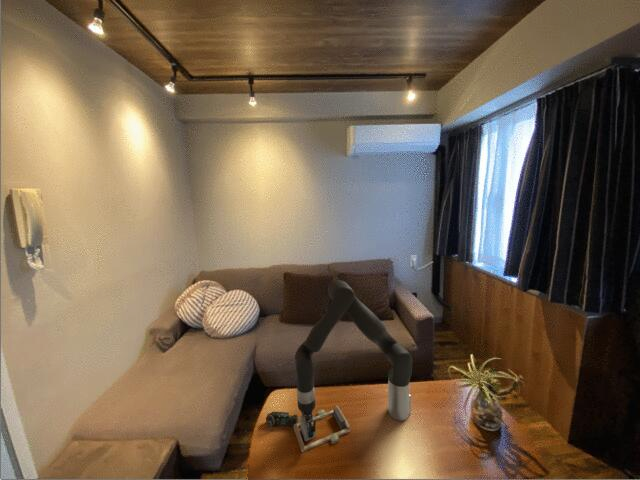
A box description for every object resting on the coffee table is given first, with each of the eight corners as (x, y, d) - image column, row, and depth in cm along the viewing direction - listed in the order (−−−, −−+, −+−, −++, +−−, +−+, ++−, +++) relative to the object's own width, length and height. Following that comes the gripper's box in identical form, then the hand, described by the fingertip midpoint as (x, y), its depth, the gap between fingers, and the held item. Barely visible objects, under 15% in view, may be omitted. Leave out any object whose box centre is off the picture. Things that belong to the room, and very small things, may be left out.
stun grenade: (298, 421, 117) (268, 419, 118) (297, 408, 116) (268, 407, 118) (295, 433, 110) (264, 431, 112) (294, 419, 110) (263, 417, 112)
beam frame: (336, 406, 123) (335, 399, 123) (352, 435, 108) (352, 427, 108) (292, 423, 115) (291, 415, 115) (303, 456, 100) (303, 448, 100)
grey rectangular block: (312, 427, 113) (311, 412, 111) (316, 437, 108) (315, 421, 107) (301, 431, 111) (300, 416, 110) (305, 441, 106) (303, 425, 105)
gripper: (320, 405, 101) (322, 441, 104) (308, 382, 114) (310, 414, 117) (303, 412, 98) (305, 449, 101) (292, 387, 112) (295, 420, 114)
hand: (308, 430), depth 109 cm, fingers open, 5 cm apart
